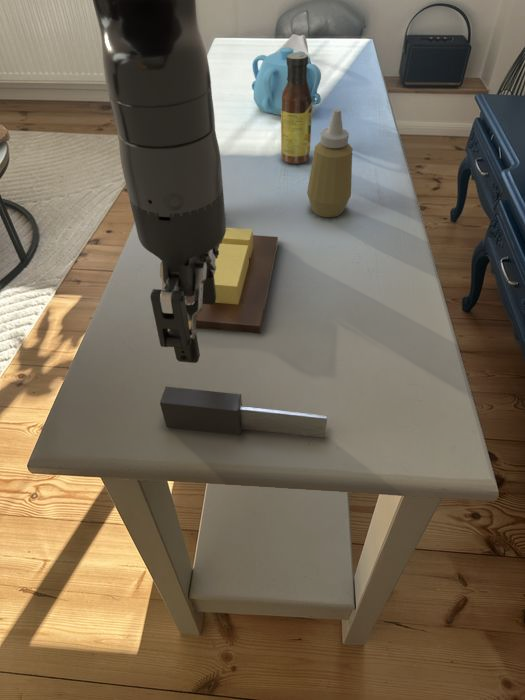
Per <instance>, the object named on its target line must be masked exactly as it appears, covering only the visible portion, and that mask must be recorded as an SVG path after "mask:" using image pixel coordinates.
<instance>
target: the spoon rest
mask: <svg viewBox="0 0 525 700" xmlns="http://www.w3.org/2000/svg"><path fill="white" fill-rule="evenodd" d="M284 47H289V48H292V49H293V52H296V53H297V52H299V51H301V52H304V53H305V54H307V55H308V57H309V58H310V59H311V56H310V53H309V46H308V41H307V37H306V35H305V34H301V35H298V34H295V33H294V34H292V35H291V36H290V37H289V38H288V39H287V40H286V42H285V43H284V44H283V45H281V47H279V48H278V49H277V50H276V51H275V52H274V53H276V52H280V49H281V48H284Z"/></svg>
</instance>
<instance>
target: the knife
mask: <svg viewBox="0 0 525 700" xmlns="http://www.w3.org/2000/svg"><path fill="white" fill-rule="evenodd" d="M242 402H243V401H242V394H241V393H233V392H232V393H231V392H222V391H213V390H204V389H195V388H194V389H193V388H184V387H174V386H164V388H163V392H162V395H161V398H160V401H159V406H160V409H161V412H162V417H163V419H164V423H165V426H166V428H171V429H179V430H187V431H195V432H196V431H198V432H207V433H215V434H223V435H233V436H240V435H241V432H242V430H249V431H257V432H259V431H260V432H267V433H268V432H269V433H277V434H285V435H295V436H304V437H312V438H322V439H325V437H326V430H327V424H328V415H327V414H319V413H308V412H301V411H292V410H291V411H289V410H280V409H271V408H261V407H253V406H252V407H251V406H244V405H243V403H242Z"/></svg>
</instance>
